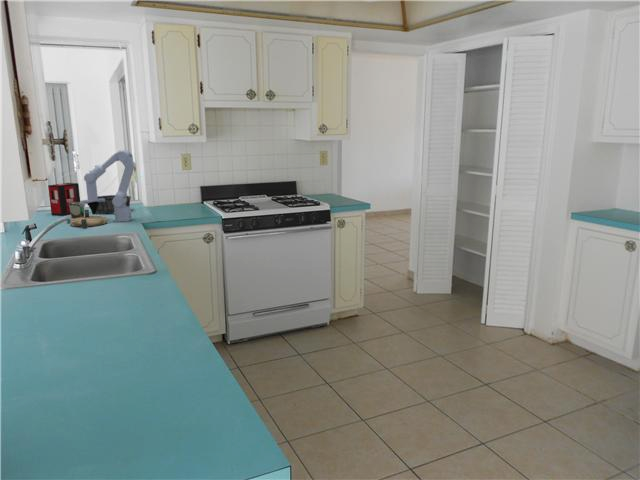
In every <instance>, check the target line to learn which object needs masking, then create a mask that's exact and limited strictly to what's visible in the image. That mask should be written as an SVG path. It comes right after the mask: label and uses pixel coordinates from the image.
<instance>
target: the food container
mask: <svg viewBox="0 0 640 480" xmlns="http://www.w3.org/2000/svg"><path fill="white" fill-rule="evenodd" d="M69 207H70V212H71V214H70V218H71V219H74V218H79V217H85V211H84V210H85V207H86V205H85V204H81V201H80V202H71V203H69Z"/></svg>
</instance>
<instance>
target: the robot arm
mask: <svg viewBox="0 0 640 480" xmlns="http://www.w3.org/2000/svg"><path fill="white" fill-rule="evenodd" d="M118 161H119V162H121V164H123V166H124V169H123V174H122V176H121V179H120V183H119V187H118V190H117V192H116V194H115V195H116V196H115V197H114V198H113V200H112V203H113V205H114V220H113V219H112V222H130V221H131V220H133V218H132V208H131V206H129V207H127V206H126V202H127V196H128V193H127V192H128V189H129V186H130V183H131V179H132V176H133V174H134V171H135V170H134V169H135V162H134V158H133V154H132V153H131V151H130V150H127V149H123V150H118V151H117V152H116V153H114V154H113V155H111V156H110V157H109V158H108V159H107V160H106V161H105V162H103V163H102V164H97V165H94V168H93V169H92V170H89V171H88V173H85V175H84V176H83V180H84V181H85V186H86V195H87V199H83V200H80V202H81V204H87V206H88V207H89V209H90V211H91V214H92V215H97V212H96V211H97V208H98V205H99V203H98V202H105V198H100V199H98V196H99V195H98V188H97V180H98V179H99V178H101V176H103V175H104V174H105V173H106V171H107V169H108V168H109V167H111V166H112V165H113V164H115V162H118ZM93 201H95V202H93Z"/></svg>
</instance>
